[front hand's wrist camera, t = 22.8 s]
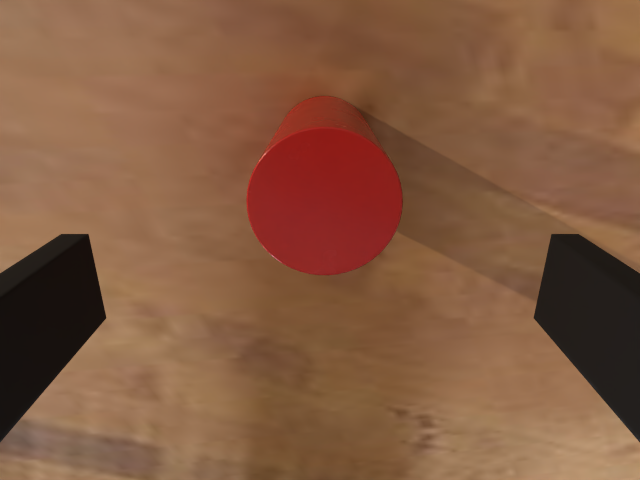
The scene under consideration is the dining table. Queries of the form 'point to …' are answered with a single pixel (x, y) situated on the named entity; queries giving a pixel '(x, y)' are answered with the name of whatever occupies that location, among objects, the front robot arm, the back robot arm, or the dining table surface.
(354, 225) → the canister
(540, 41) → the dining table surface
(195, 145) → the dining table surface
